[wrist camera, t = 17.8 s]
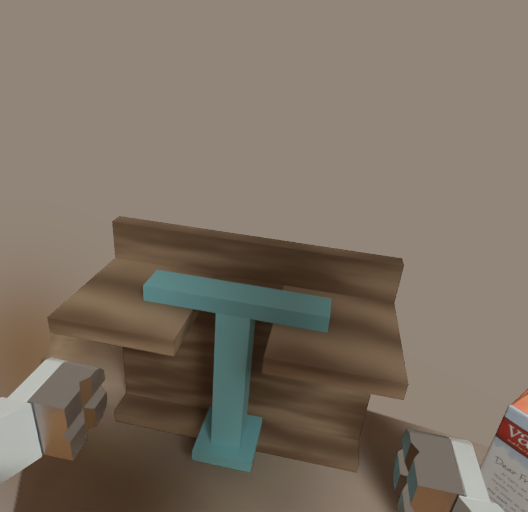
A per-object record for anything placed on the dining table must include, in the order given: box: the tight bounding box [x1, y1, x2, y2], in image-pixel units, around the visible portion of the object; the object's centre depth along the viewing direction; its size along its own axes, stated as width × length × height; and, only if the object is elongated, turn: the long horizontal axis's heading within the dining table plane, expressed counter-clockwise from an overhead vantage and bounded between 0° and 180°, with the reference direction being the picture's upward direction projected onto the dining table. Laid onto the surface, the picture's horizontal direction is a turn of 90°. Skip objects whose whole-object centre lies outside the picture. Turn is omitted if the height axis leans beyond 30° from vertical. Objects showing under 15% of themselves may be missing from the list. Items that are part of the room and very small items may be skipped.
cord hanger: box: [143, 270, 332, 473], centre depth 41 cm, size 6×16×18 cm, turn 80°
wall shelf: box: [48, 216, 408, 473], centre depth 41 cm, size 12×28×24 cm, turn 79°
